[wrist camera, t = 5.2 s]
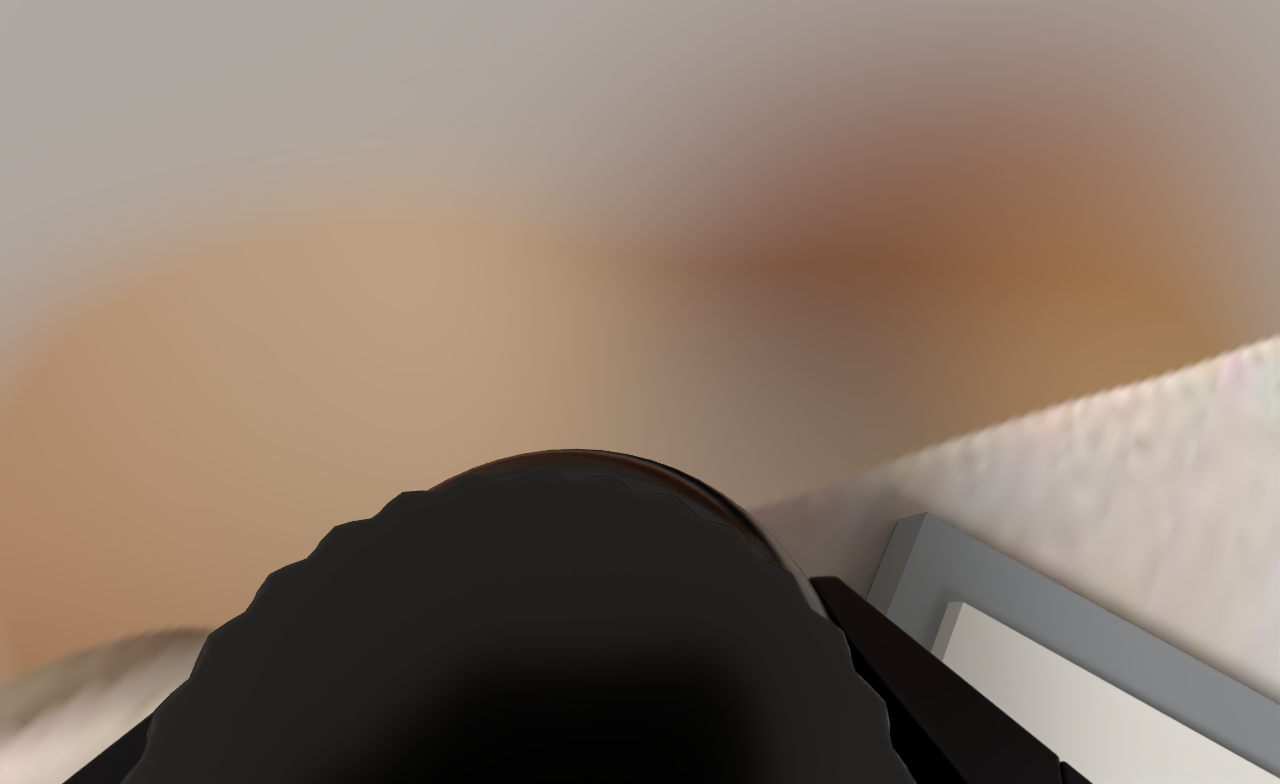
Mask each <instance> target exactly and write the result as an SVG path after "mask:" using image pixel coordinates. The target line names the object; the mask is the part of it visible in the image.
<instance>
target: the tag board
mask: <svg viewBox="0 0 1280 784" xmlns="http://www.w3.org/2000/svg"><path fill="white" fill-rule="evenodd" d="M866 600H867V601H868V602H869V603H870V604H872V605H873V606H874V607H875V608H877V609H878V610H879V611H880V612H881V613H883V614H884V615H885V616H886V617H888V618H889V619H890V620H891V621H893V622H894V623H895V624H896V625H898V626H899V627H900V628H901V629H902V630H904V631H905V632H906V633H907V634H909V635H910V636H911V637H912V638H914V639H915V640H916V641H917V642H919V643H920V644H921V645H922V646H923V647H925V648H926V649H927V650H928V651H930V652H931V653H932V654H933V655H935V656H936V657H937V658H938V659H940V660H941V661H942V662H943V663H944V664H946V665H947V666H948V667H949V668H951V669H952V670H953V671H954V672H956V673H957V674H958V675H959V676H960V677H962V678H963V679H964V680H965V681H967V682H968V683H969V684H970V685H972V686H973V687H974V688H975V689H977V690H978V691H979V692H980V693H981V694H983V695H984V696H985V697H986V698H988V699H989V700H990V701H991V702H993V703H994V704H995V705H996V706H998V707H999V708H1000V709H1001V710H1002V711H1004V712H1005V713H1006V714H1007V715H1009V716H1010V717H1011V718H1012V719H1014V720H1015V721H1016V722H1017V723H1019V724H1020V725H1021V726H1022V727H1023V728H1025V729H1026V730H1027V731H1028V732H1030V733H1031V734H1032V735H1033V736H1035V737H1036V738H1037V739H1038V740H1040V741H1041V742H1042V743H1043V744H1044V745H1046V746H1047V747H1048V748H1049V749H1051V750H1052V751H1053V752H1054V753H1056V754H1057V755H1058V757H1059V759H1060V762H1061V761H1065V762H1067V763H1068V764H1069V765H1071V766H1072V767H1073V768H1074V769H1076V770H1077V771H1078V772H1079V773H1081V774H1082V775H1083V776H1084V777H1086V778H1087V779H1088V780H1089V781H1090V782H1092V783H1093V784H1280V705H1279V704H1277V703H1275V702H1274V701H1272V700H1270V699H1268V698H1266V697H1264V696H1263V695H1261V694H1259V693H1257V692H1255V691H1253V690H1252V689H1250V688H1248V687H1246V686H1244V685H1242V684H1241V683H1239V682H1237V681H1235V680H1233V679H1231V678H1230V677H1228V676H1226V675H1224V674H1222V673H1220V672H1219V671H1217V670H1215V669H1213V668H1211V667H1209V666H1208V665H1206V664H1204V663H1202V662H1200V661H1198V660H1197V659H1195V658H1193V657H1191V656H1189V655H1187V654H1186V653H1184V652H1182V651H1180V650H1178V649H1176V648H1175V647H1173V646H1171V645H1169V644H1167V643H1165V642H1164V641H1162V640H1160V639H1158V638H1156V637H1154V636H1153V635H1151V634H1149V633H1147V632H1145V631H1143V630H1142V629H1140V628H1138V627H1136V626H1134V625H1132V624H1131V623H1129V622H1127V621H1125V620H1123V619H1121V618H1120V617H1118V616H1116V615H1114V614H1112V613H1110V612H1109V611H1107V610H1105V609H1103V608H1101V607H1099V606H1098V605H1096V604H1094V603H1092V602H1090V601H1088V600H1087V599H1085V598H1083V597H1081V596H1079V595H1077V594H1076V593H1074V592H1072V591H1070V590H1068V589H1066V588H1065V587H1063V586H1061V585H1059V584H1057V583H1055V582H1054V581H1052V580H1050V579H1048V578H1046V577H1044V576H1043V575H1041V574H1039V573H1037V572H1035V571H1033V570H1032V569H1030V568H1028V567H1026V566H1024V565H1022V564H1021V563H1019V562H1017V561H1015V560H1013V559H1011V558H1010V557H1008V556H1006V555H1004V554H1002V553H1000V552H999V551H997V550H995V549H993V548H991V547H989V546H988V545H986V544H984V543H982V542H980V541H978V540H977V539H975V538H973V537H971V536H969V535H967V534H966V533H964V532H962V531H960V530H958V529H956V528H955V527H953V526H951V525H949V524H947V523H945V522H944V521H942V520H940V519H938V518H936V517H934V516H933V515H931V514H929V513H927V512H926V513H922V514H919V515H915V516H911V517H907V518H903V519H899V520H898V522H897V525H896V527H895V530H894V532H893V535H892V537H891V539H890V542H889V544H888V547H887V549H886V552H885V554H884V557H883V559H882V562H881V564H880V566H879V569H878V571H877V574H876V576H875V579H874V581H873V584H872V586H871V588H870V591H869V593H868V596H867V598H866Z"/></svg>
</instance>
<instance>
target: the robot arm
mask: <svg viewBox="0 0 1280 784" xmlns="http://www.w3.org/2000/svg"><path fill="white" fill-rule="evenodd" d="M808 580H809V582H810V583H811V585H812V586H813V588H814V589H815V591H816V592H817V594H818V596H819V598H820V599H821V601H822V603H823V605H824V607H825V609H826V611H827V612H828V614H829V616H830V618H831V620H832V622H833V624H835V625H836V626H837V627H838V628H840V629H841V630H842V631H843V632H844V635H845V637H846V640H847V643H848V646H849V648H850V651H851V658H852V662H853V665H854V667H855V670H856V672H857V673H858V674H859V675H860V676H861V677H862V678H863V679H864V680H865V681H866V682H867V683H868V684H869V685H870V686H871V687H872V688H873V689H874V690H875V691H876V692H877V693H878V694H879V695H880V697H881V698H882V699H883V700H884V701H885V702H886V707H887V712H888V717H889V722H890V737H891V742H892V747H893V749H894V750H895V752H896V753H897V754H898V756H899V757H900V758H901V760H902V761H903V762H904V764H905V765H906V767H907V768H908V770H909V771H910V773H911V775H912V776H913V778H914V780H915V781H916V783H917V784H1093V783H1092V782H1090V781H1089V780H1088V779H1087V778H1086V777H1084V776H1083V775H1082V774H1081V773H1079V772H1078V771H1077V770H1076V769H1074V768H1073V767H1072V766H1071V765H1069V764H1068V763H1067V762H1065V761H1061V762H1060V759H1059V757H1058V755H1057V754H1056V753H1054V752H1053V751H1052V750H1051V749H1049V748H1048V747H1047V746H1046V745H1044V744H1043V743H1042V742H1041V741H1040V740H1038V739H1037V738H1036V737H1035V736H1033V735H1032V734H1031V733H1030V732H1028V731H1027V730H1026V729H1025V728H1023V727H1022V726H1021V725H1020V724H1019V723H1017V722H1016V721H1015V720H1014V719H1012V718H1011V717H1010V716H1009V715H1007V714H1006V713H1005V712H1004V711H1002V710H1001V709H1000V708H999V707H998V706H996V705H995V704H994V703H993V702H991V701H990V700H989V699H988V698H986V697H985V696H984V695H983V694H981V693H980V692H979V691H978V690H977V689H975V688H974V687H973V686H972V685H970V684H969V683H968V682H967V681H965V680H964V679H963V678H962V677H960V676H959V675H958V674H957V673H956V672H954V671H953V670H952V669H951V668H949V667H948V666H947V665H946V664H944V663H943V662H942V661H941V660H940V659H938V658H937V657H936V656H935V655H933V654H932V653H931V652H930V651H928V650H927V649H926V648H925V647H923V646H922V645H921V644H920V643H919V642H917V641H916V640H915V639H914V638H912V637H911V636H910V635H909V634H907V633H906V632H905V631H904V630H902V629H901V628H900V627H899V626H898V625H896V624H895V623H894V622H893V621H891V620H890V619H889V618H888V617H886V616H885V615H884V614H883V613H881V612H880V611H879V610H878V609H877V608H875V607H874V606H873V605H872V604H870V603H869V602H868V601H867V600H865V599H864V598H863V597H862V596H861V595H859V594H858V593H857V592H856V591H854V590H853V589H852V588H851V587H849V586H848V585H847V584H846V583H844V582H843V581H842V580H841V579H839V578H838V577H836V576H814V577H810V578H809V579H808ZM153 713H154V712H153ZM153 713H151V714H150V715H149V716H148V717H146V718H145V719H144V720H143V721H141V722H140V723H139V724H137V725H136V726H135V727H134V728H132V729H131V730H130V731H129V732H127V733H126V734H125V735H123V736H122V737H121V738H120V739H118V740H117V741H116V742H115V743H113V744H112V745H111V746H110V747H108V748H107V749H106V750H104V751H103V752H102V753H101V754H99V755H98V756H97V757H96V758H94V759H93V760H92V761H90V762H89V763H88V764H87V765H85V766H84V767H83V768H82V769H80V770H79V771H78V772H76V773H75V774H74V775H73V776H71V777H70V778H69V779H68V780H66V781H65V782H64V783H62V784H120V783H121V781H122V780H123V779H124V777H125V776H126V775H127V774H128V773H129V771H130V770H131V769H132V768H133V767H134V765H135V764H136V763H137V762H138V761H139V760H140V758H141V756H142V753H143V750H144V747H145V743H146V740H147V732H148V729H149V726H150V722H151V719H152V716H153Z"/></svg>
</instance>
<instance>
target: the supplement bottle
mask: <svg viewBox="0 0 1280 784" xmlns="http://www.w3.org/2000/svg"><path fill="white" fill-rule="evenodd" d="M120 784H917V783H916V781H915V780H914V778H913V776H912V775H911V773H910V771H909V770H908V768H907V767H906V765H905V764H904V762H903V761H902V760H901V758H900V757H899V756H898V754H897V753H896V752H895V750H894V749H893V747H892V742H891V737H890V722H889V717H888V712H887V707H886V702H885V701H884V700H883V699H882V698H881V697H880V695H879V694H878V693H877V692H876V691H875V690H874V689H873V688H872V687H871V686H870V685H869V684H868V683H867V682H866V681H865V680H864V679H863V678H862V677H861V676H860V675H859V674H858V673H857V672H856V670H855V667H854V665H853V662H852V658H851V651H850V648H849V646H848V643H847V640H846V637H845V635H844V632H843V631H842V630H841V629H840V628H838V627H837V626H836V625H835V624H833V622H832V620H831V618H830V616H829V614H828V612H827V611H826V609H825V607H824V605H823V603H822V601H821V599H820V598H819V596H818V594H817V592H816V591H815V589H814V588H813V586H812V585H811V583H810V582H809V580H808V579H807V577H806V576H805V574H804V573H803V571H802V570H801V568H800V567H799V566H798V564H797V563H796V562H795V561H794V559H793V558H792V557H791V556H790V554H789V553H788V552H787V551H786V549H785V548H784V547H783V546H782V545H781V544H780V543H779V542H778V541H777V540H776V538H775V537H774V536H773V535H772V534H771V533H770V532H769V531H768V530H767V529H766V528H765V527H764V526H763V525H762V524H761V523H759V522H758V521H757V520H756V519H755V518H754V517H753V516H751V515H750V514H749V513H748V512H747V511H746V510H745V509H743V508H742V507H741V506H739V505H737V504H736V503H735V502H734V501H732V500H731V499H729V498H728V497H727V496H725V495H724V494H723V493H721V492H719V491H717V490H716V489H714V488H712V487H711V486H709V485H707V484H706V483H704V482H702V481H701V480H699V479H696V478H694V477H692V476H690V475H688V474H686V473H684V472H682V471H679V470H677V469H675V468H672V467H669V466H666V465H664V464H661V463H658V462H655V461H652V460H649V459H644V458H640V457H637V456H633V455H628V454H623V453H617V452H610V451H603V450H586V449H563V450H547V451H539V452H532V453H525V454H520V455H516V456H512V457H508V458H503V459H499V460H496V461H493V462H490V463H487V464H484V465H481V466H478V467H475V468H472V469H470V470H468V471H465V472H463V473H461V474H459V475H456V476H454V477H452V478H449V479H447V480H445V481H444V482H442V483H440V484H438V485H437V486H435V487H433V488H431V489H429V490H427V491H409V492H402V493H401V494H399V495H398V496H397V497H395V498H394V499H393V500H391V501H390V502H389V503H388V504H387V505H386V506H385V507H384V508H383V509H382V510H381V511H380V512H379V513H378V514H377V515H375V516H374V517H373V518H370V519H364V520H358V521H352V522H348V523H345V524H342V525H338V526H335V527H334V528H333V529H332V530H331V531H330V532H329V533H328V534H327V535H326V536H325V537H324V538H323V539H322V540H321V541H320V543H319V544H318V546H317V548H316V549H315V550H314V551H313V552H312V553H311V554H310V555H309V556H308V558H307V559H304V560H301V561H298V562H296V563H293V564H290V565H287V566H286V567H283V568H281V569H279V570H277V571H275V572H273V573H271V574H269V576H268V577H267V578H266V580H265V582H264V583H263V584H262V585H261V587H260V588H259V590H258V591H257V593H256V595H255V598H254V600H253V601H252V603H251V604H250V606H249V607H248V608H247V610H246V611H245V612H244V613H242V614H241V615H239V616H237V617H235V618H234V619H232V620H230V621H228V622H227V623H225V624H224V625H222V626H221V627H220V628H218V629H217V630H215V631H214V632H213V633H211V634H210V635H209V636H208V638H207V640H206V642H205V644H204V646H203V648H202V650H201V652H200V654H199V656H198V658H197V661H196V663H195V665H194V668H193V670H192V673H191V675H190V677H189V679H188V680H187V681H185V682H184V683H183V684H182V685H181V686H179V687H178V688H177V689H176V690H175V691H173V692H172V693H171V694H170V695H169V696H168V697H167V698H166V699H165V700H164V701H163V702H162V703H161V704H160V705H159V706H158V707H157V708H156V709H155V710H154V713H153V716H152V719H151V722H150V726H149V729H148V732H147V740H146V743H145V747H144V750H143V753H142V756H141V758H140V760H139V761H138V762H137V763H136V764H135V765H134V767H133V768H132V769H131V770H130V771H129V773H128V774H127V775H126V776H125V777H124V779H123V780H122V781H121V783H120Z"/></svg>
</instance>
